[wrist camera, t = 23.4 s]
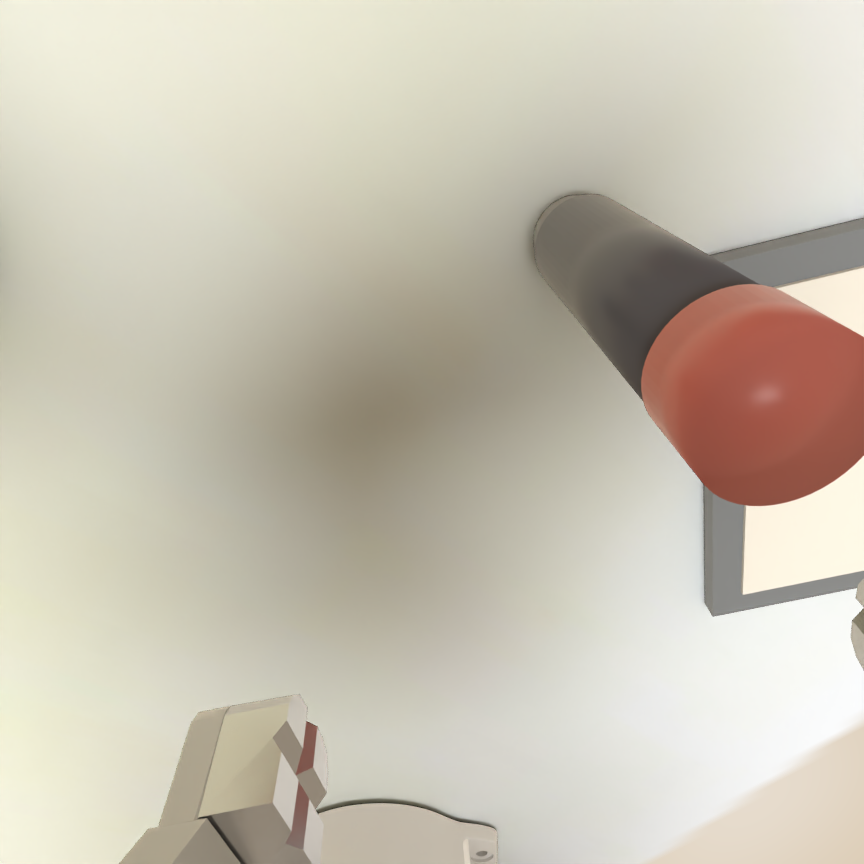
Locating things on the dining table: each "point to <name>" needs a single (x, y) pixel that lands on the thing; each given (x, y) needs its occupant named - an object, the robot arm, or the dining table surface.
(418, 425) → the dining table surface
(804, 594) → the writing board
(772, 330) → the marker
